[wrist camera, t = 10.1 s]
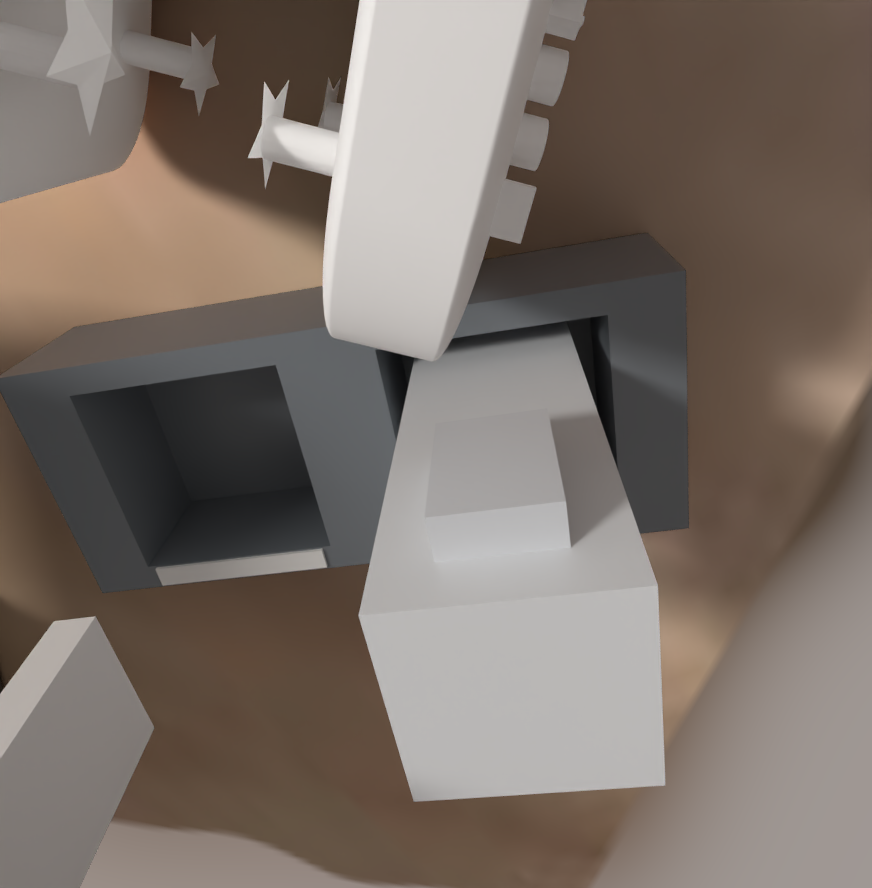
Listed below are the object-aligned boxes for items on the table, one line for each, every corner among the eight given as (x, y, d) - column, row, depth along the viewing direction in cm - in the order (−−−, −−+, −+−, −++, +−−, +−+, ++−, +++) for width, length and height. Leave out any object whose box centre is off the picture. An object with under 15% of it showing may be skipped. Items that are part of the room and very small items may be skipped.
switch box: (156, 517, 24) (101, 595, 21) (74, 327, 21) (-9, 380, 18) (655, 455, 22) (689, 530, 19) (647, 232, 19) (686, 271, 15)
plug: (444, 448, 22) (413, 802, 11) (415, 300, 20) (344, 569, 9) (573, 431, 21) (665, 785, 11) (558, 278, 19) (655, 535, 9)
